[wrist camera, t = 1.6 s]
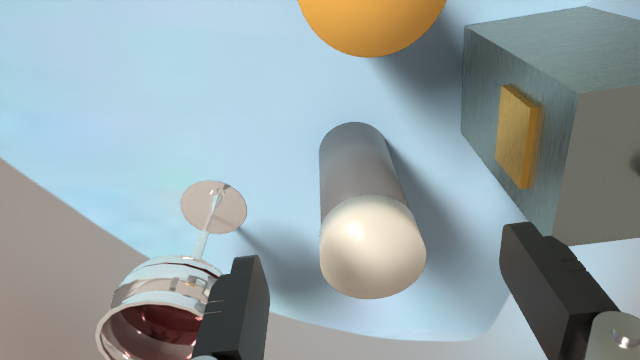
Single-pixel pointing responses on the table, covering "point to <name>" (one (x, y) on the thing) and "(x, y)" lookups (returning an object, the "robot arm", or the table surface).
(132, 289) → the wineglass
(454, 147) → the table surface
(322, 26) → the cylinder
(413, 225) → the cylinder
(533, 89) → the unit
